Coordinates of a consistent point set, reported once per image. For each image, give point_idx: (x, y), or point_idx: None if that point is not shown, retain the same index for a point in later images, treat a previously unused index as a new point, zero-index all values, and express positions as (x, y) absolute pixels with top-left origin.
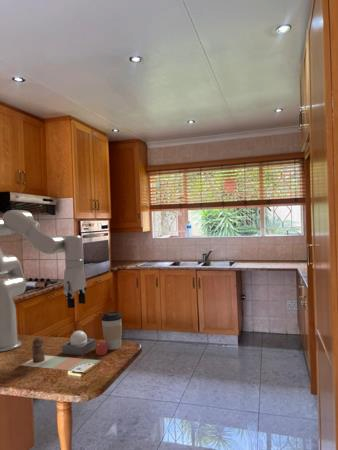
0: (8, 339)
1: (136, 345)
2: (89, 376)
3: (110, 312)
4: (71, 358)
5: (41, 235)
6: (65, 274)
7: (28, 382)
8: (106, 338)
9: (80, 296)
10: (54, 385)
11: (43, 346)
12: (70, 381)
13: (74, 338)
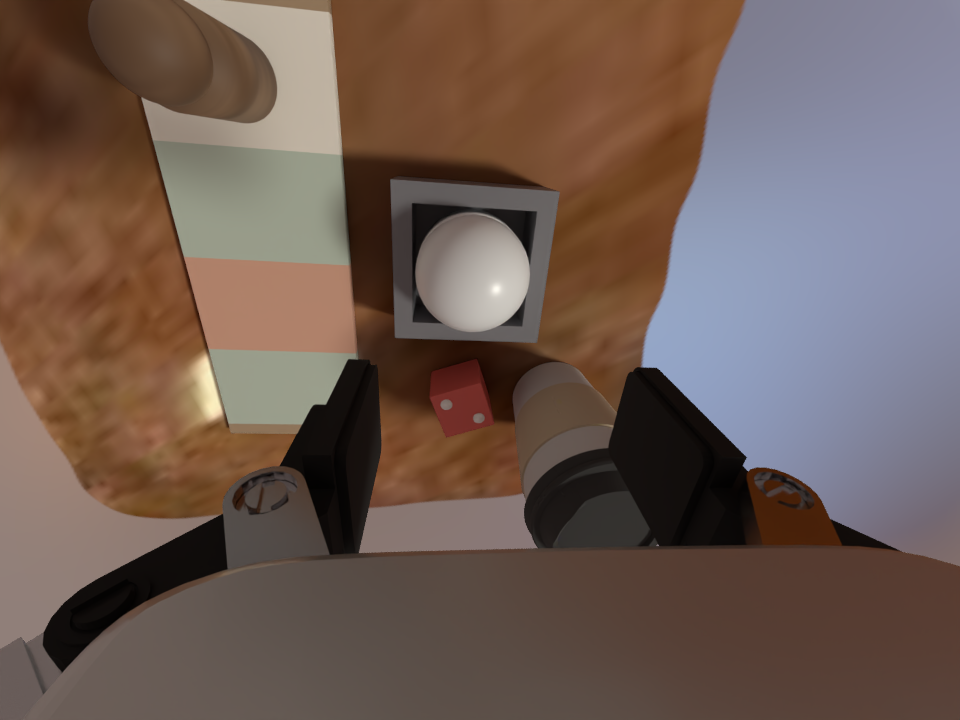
0: None
1: None
2: (220, 451)
3: None
4: (341, 285)
5: None
6: None
7: (8, 227)
8: (518, 419)
9: (672, 475)
10: (75, 371)
11: (204, 113)
12: (144, 410)
13: (418, 281)
